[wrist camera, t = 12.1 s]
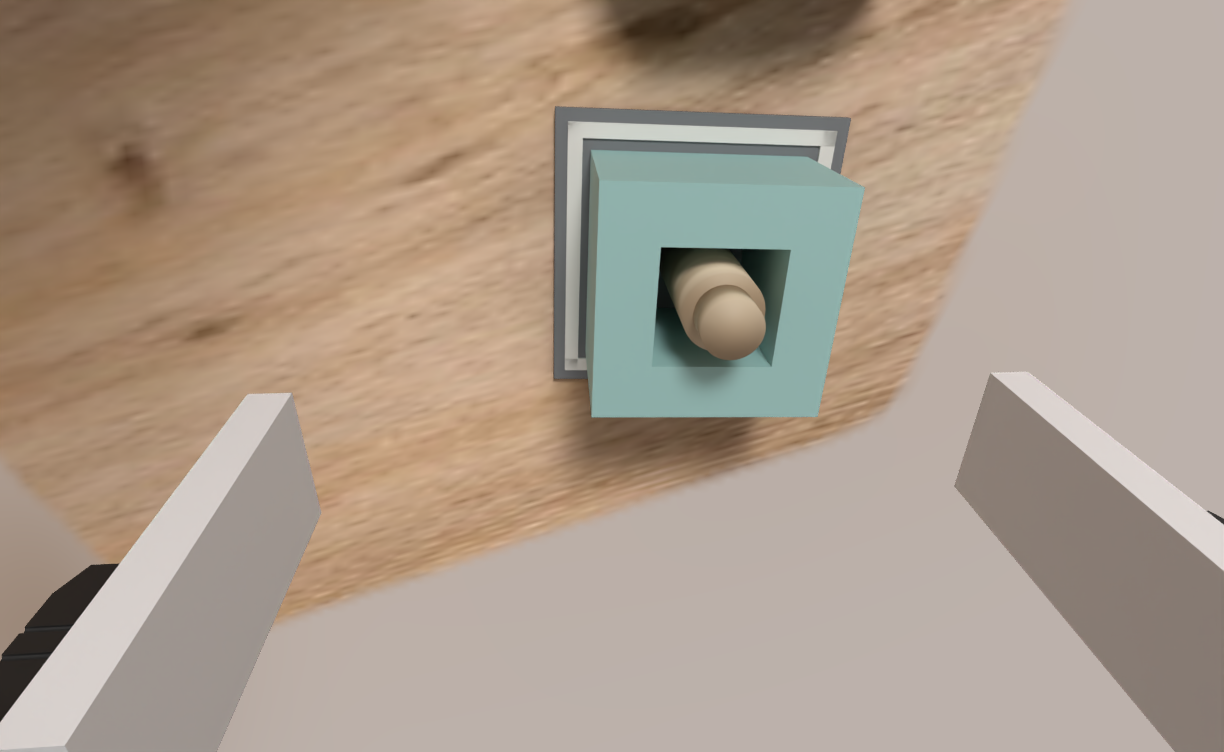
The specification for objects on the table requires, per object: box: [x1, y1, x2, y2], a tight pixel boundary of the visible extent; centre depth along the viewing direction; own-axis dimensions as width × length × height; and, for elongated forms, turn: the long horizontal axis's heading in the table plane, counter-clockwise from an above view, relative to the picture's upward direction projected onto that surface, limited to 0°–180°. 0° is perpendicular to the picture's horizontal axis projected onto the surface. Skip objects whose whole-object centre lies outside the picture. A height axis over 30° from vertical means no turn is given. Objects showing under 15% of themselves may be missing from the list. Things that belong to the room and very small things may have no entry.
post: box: [659, 247, 766, 360], centre depth 27 cm, size 3×3×8 cm
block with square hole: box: [585, 150, 865, 417], centre depth 28 cm, size 9×9×6 cm
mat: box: [554, 106, 851, 379], centre depth 30 cm, size 12×12×1 cm
